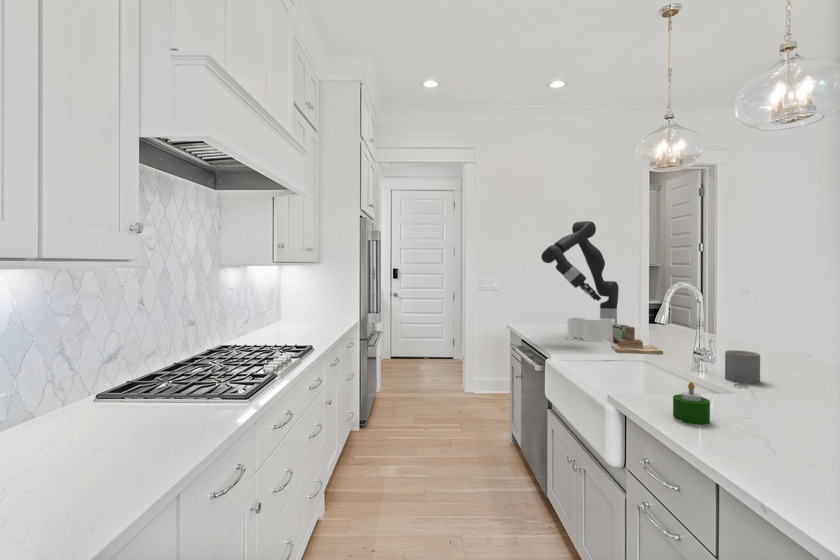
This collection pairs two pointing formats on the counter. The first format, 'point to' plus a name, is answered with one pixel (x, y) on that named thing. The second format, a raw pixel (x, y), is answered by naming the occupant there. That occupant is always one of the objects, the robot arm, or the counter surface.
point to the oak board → (638, 350)
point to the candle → (691, 407)
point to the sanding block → (630, 340)
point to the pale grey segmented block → (590, 329)
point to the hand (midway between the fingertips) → (598, 299)
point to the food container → (618, 332)
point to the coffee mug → (742, 366)
